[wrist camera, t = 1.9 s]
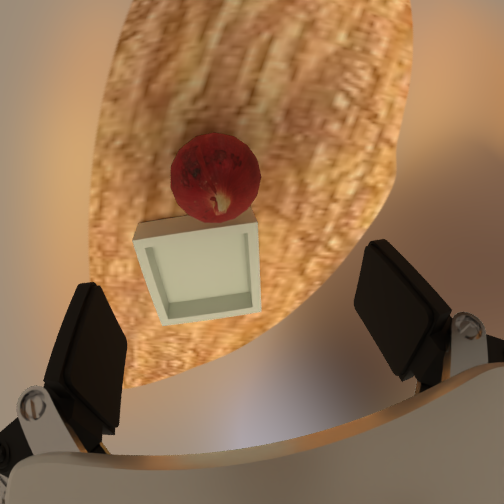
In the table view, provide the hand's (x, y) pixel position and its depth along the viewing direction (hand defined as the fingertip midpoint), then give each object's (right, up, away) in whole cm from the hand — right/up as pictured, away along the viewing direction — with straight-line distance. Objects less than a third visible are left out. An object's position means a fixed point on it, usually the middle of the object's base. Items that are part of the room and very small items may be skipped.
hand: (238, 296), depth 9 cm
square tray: (-4, +1, +16) cm, 17 cm away
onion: (-3, +8, +11) cm, 14 cm away
